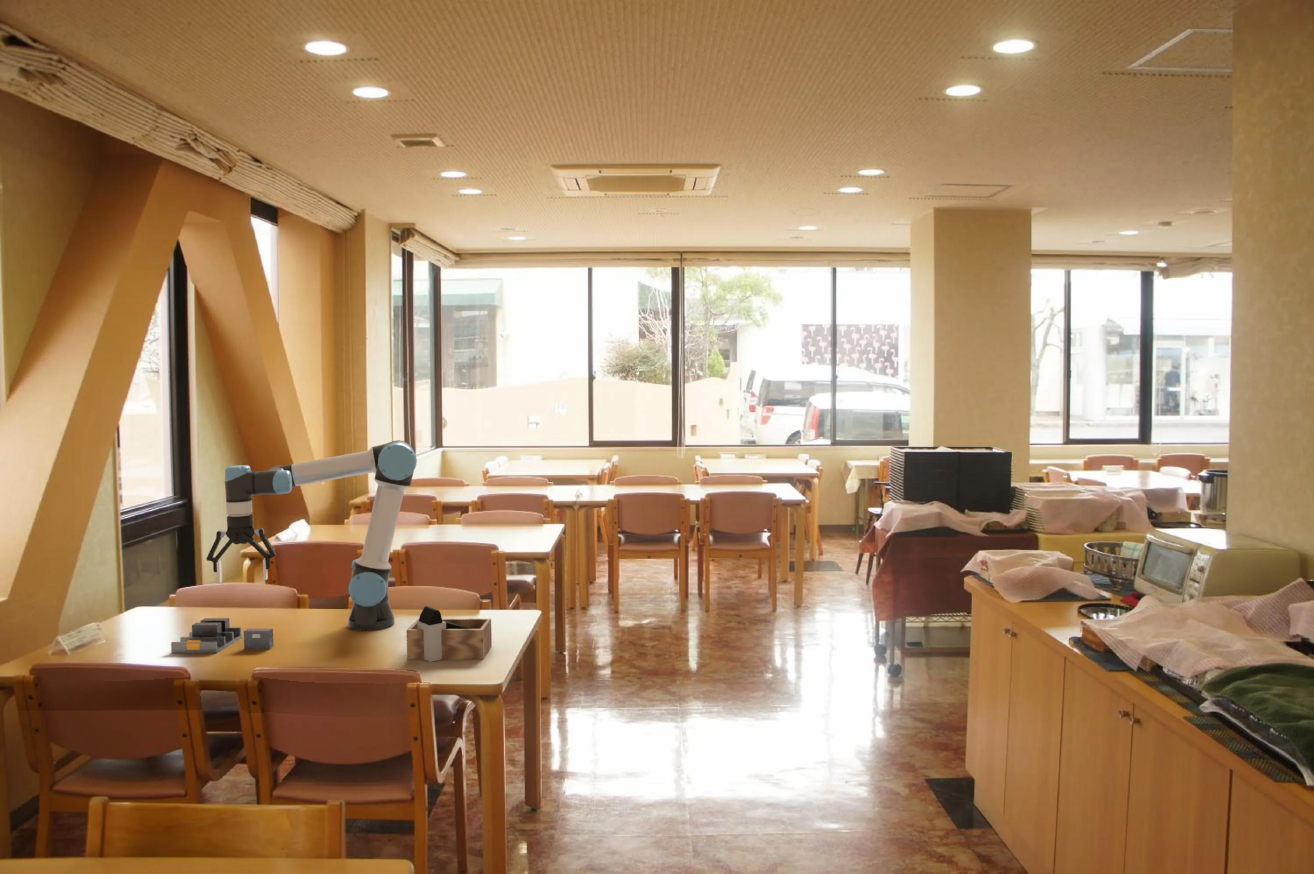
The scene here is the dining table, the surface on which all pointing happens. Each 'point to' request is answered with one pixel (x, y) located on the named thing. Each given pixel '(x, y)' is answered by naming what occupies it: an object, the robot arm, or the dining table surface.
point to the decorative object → (434, 632)
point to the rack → (207, 637)
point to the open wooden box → (454, 640)
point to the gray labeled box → (258, 639)
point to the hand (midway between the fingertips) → (242, 580)
